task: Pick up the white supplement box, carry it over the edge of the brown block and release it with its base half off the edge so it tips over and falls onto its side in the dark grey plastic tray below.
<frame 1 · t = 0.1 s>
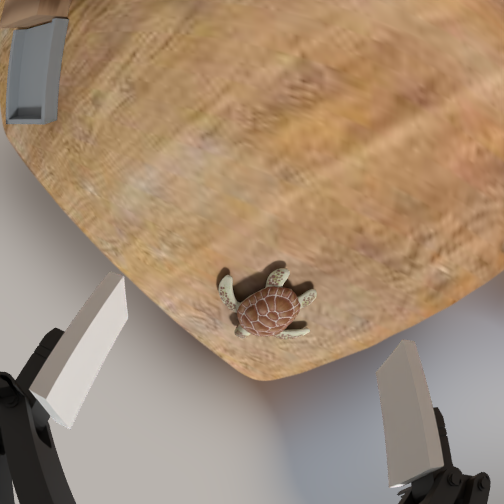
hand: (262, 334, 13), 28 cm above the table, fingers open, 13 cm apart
tray: (38, 71, 30), on the table
decorative turtle: (267, 302, 50), on the table
brown block: (50, 3, 24), on the table
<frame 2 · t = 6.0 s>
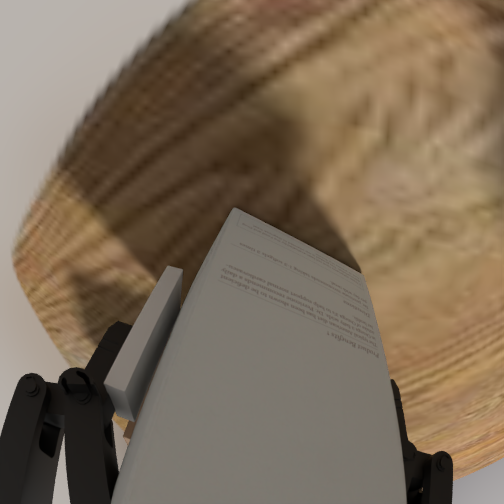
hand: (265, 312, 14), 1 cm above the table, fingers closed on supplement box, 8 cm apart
supplement box: (268, 291, 15), on the table, touching gripper
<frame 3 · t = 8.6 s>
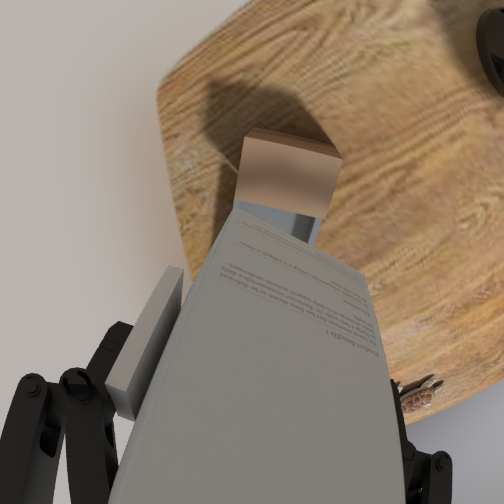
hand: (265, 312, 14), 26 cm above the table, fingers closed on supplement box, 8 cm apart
tray: (268, 245, 42), on the table
supplement box: (269, 291, 15), point 24 cm above the table, touching gripper
decorative turtle: (412, 392, 60), on the table
brown block: (288, 161, 35), on the table
when the fingers open (9 cm above the table, at t = 11.5 s): supplement box drops 3 cm, resting on tray.
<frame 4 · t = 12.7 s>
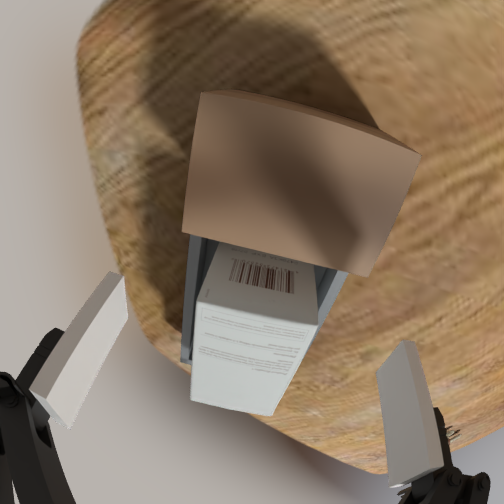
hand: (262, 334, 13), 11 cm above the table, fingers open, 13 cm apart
tray: (255, 295, 26), on the table
supplement box: (265, 272, 19), point 4 cm above the table, touching tray
brown block: (295, 155, 19), on the table
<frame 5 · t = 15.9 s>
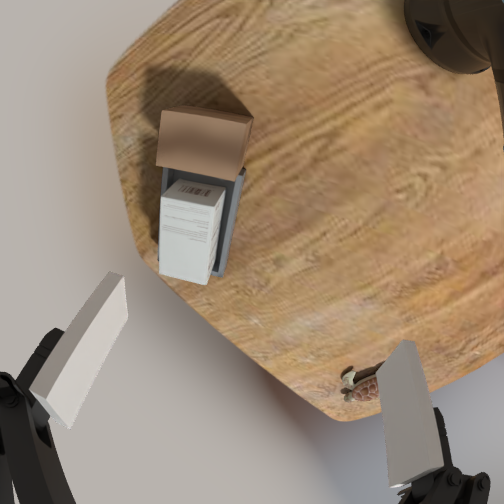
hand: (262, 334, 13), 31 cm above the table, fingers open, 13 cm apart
tray: (200, 213, 45), on the table
supplement box: (196, 189, 38), point 4 cm above the table, touching tray
decorative turtle: (369, 380, 64), on the table
brown block: (212, 134, 38), on the table
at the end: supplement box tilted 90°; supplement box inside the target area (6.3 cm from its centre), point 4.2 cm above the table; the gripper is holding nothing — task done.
